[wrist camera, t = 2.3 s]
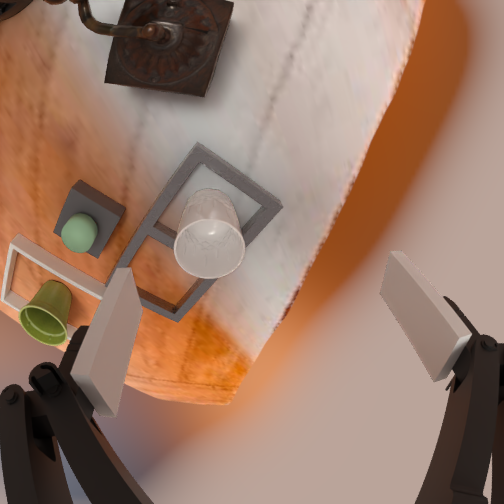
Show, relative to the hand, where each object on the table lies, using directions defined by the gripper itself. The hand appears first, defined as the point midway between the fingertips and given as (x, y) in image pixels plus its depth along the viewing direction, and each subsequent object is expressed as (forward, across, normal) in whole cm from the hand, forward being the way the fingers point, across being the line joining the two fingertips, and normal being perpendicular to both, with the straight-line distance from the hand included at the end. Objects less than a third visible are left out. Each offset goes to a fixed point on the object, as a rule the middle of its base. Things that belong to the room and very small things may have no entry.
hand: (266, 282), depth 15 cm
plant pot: (+27, -34, -20) cm, 48 cm away
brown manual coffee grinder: (+25, -9, +17) cm, 32 cm away
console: (+26, -22, -6) cm, 35 cm away
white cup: (+27, -4, -7) cm, 29 cm away
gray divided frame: (+27, -8, -12) cm, 31 cm away
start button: (+25, -22, -6) cm, 33 cm away
